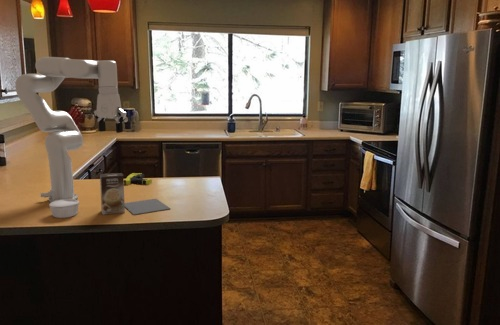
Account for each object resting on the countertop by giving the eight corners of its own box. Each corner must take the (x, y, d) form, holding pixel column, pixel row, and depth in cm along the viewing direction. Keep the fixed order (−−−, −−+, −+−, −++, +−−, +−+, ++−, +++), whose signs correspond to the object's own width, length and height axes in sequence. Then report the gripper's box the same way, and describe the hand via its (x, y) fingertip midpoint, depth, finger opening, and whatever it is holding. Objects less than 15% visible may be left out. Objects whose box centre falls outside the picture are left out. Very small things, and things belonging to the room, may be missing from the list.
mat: (133, 215, 174) (133, 214, 174) (121, 204, 189) (121, 203, 189) (170, 209, 182) (170, 208, 182) (156, 199, 197) (156, 198, 197)
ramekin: (84, 211, 179) (83, 199, 178) (72, 219, 168) (71, 206, 167) (58, 210, 179) (57, 198, 178) (44, 218, 169) (43, 206, 168)
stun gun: (157, 173, 242) (131, 172, 242) (149, 180, 223) (121, 180, 223) (157, 178, 243) (131, 177, 243) (149, 186, 224) (121, 185, 224)
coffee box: (102, 215, 174) (100, 177, 170) (101, 210, 179) (99, 173, 176) (125, 212, 177) (123, 175, 174) (123, 208, 183) (121, 172, 180)
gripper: (86, 90, 176) (89, 131, 179) (117, 91, 168) (120, 133, 172) (100, 90, 183) (102, 129, 186) (130, 91, 175) (132, 132, 178)
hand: (110, 131), depth 179 cm, fingers open, 9 cm apart
